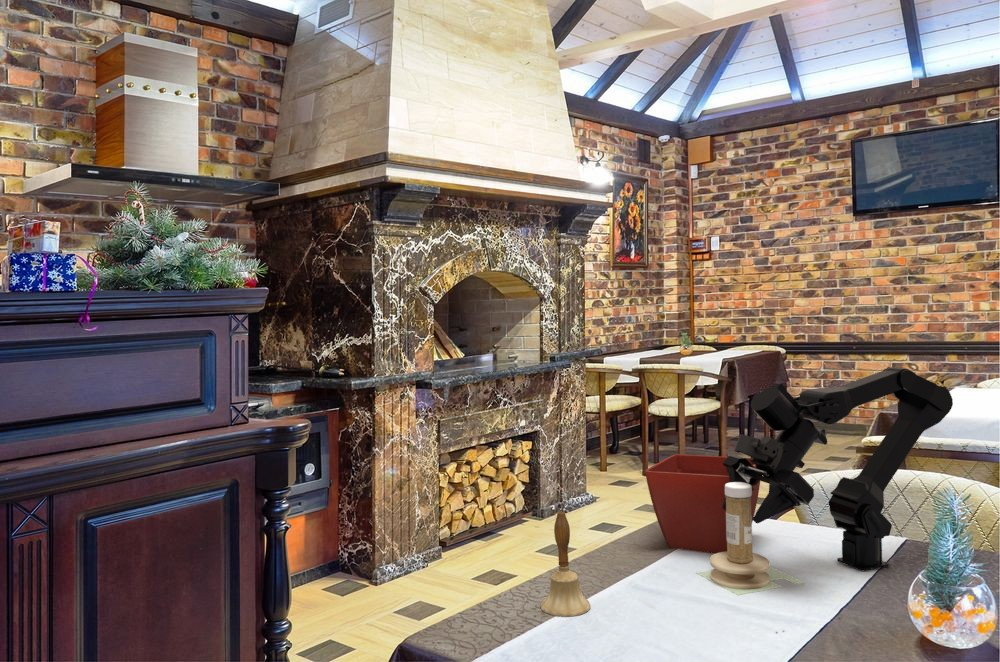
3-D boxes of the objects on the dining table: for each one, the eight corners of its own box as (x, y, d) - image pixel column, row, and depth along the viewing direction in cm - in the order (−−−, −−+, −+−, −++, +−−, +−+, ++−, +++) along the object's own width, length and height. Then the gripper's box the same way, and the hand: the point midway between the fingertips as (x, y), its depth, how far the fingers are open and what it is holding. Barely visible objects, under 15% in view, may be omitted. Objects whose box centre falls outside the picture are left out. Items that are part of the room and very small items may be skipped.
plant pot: (645, 553, 156) (642, 469, 156) (677, 529, 173) (674, 453, 173) (743, 566, 147) (740, 476, 146) (766, 539, 163) (763, 458, 163)
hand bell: (557, 621, 125) (554, 521, 124) (531, 604, 132) (528, 510, 132) (600, 610, 129) (597, 513, 128) (573, 594, 136) (570, 503, 136)
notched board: (759, 567, 147) (759, 561, 147) (805, 587, 136) (805, 582, 136) (695, 578, 142) (695, 572, 142) (738, 601, 131) (738, 595, 131)
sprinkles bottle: (757, 563, 136) (756, 486, 136) (732, 565, 136) (730, 487, 135) (746, 555, 141) (745, 480, 140) (722, 556, 140) (720, 481, 140)
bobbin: (744, 566, 145) (744, 548, 144) (782, 583, 135) (782, 564, 135) (699, 574, 141) (698, 555, 141) (734, 593, 132) (733, 573, 132)
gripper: (730, 412, 148) (680, 476, 144) (798, 425, 130) (743, 498, 127) (766, 449, 150) (718, 513, 147) (837, 467, 133) (785, 540, 130)
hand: (739, 515), depth 138 cm, fingers open, 8 cm apart
